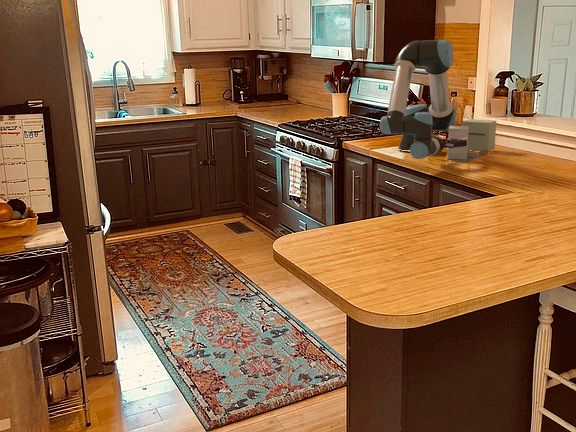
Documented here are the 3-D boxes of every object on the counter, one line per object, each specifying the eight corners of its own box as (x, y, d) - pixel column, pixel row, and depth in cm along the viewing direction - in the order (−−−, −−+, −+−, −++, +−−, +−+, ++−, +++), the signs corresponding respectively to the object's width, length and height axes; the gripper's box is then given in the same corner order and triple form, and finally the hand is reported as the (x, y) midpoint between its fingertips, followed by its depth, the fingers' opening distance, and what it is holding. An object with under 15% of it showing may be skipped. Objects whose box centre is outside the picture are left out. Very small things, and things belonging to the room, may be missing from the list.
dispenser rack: (478, 158, 300) (479, 127, 296) (446, 155, 310) (447, 124, 306) (496, 150, 318) (498, 120, 314) (466, 147, 328) (467, 119, 324)
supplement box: (447, 159, 298) (448, 127, 294) (448, 155, 306) (449, 125, 302) (466, 159, 295) (468, 128, 291) (467, 156, 303) (468, 125, 299)
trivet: (436, 159, 300) (436, 158, 300) (449, 154, 310) (449, 154, 310) (464, 162, 291) (464, 161, 291) (476, 157, 302) (476, 156, 302)
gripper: (407, 151, 286) (427, 145, 302) (458, 156, 271) (478, 149, 287) (407, 135, 284) (428, 129, 300) (459, 139, 269) (478, 133, 285)
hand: (452, 139), depth 293 cm, fingers open, 13 cm apart
